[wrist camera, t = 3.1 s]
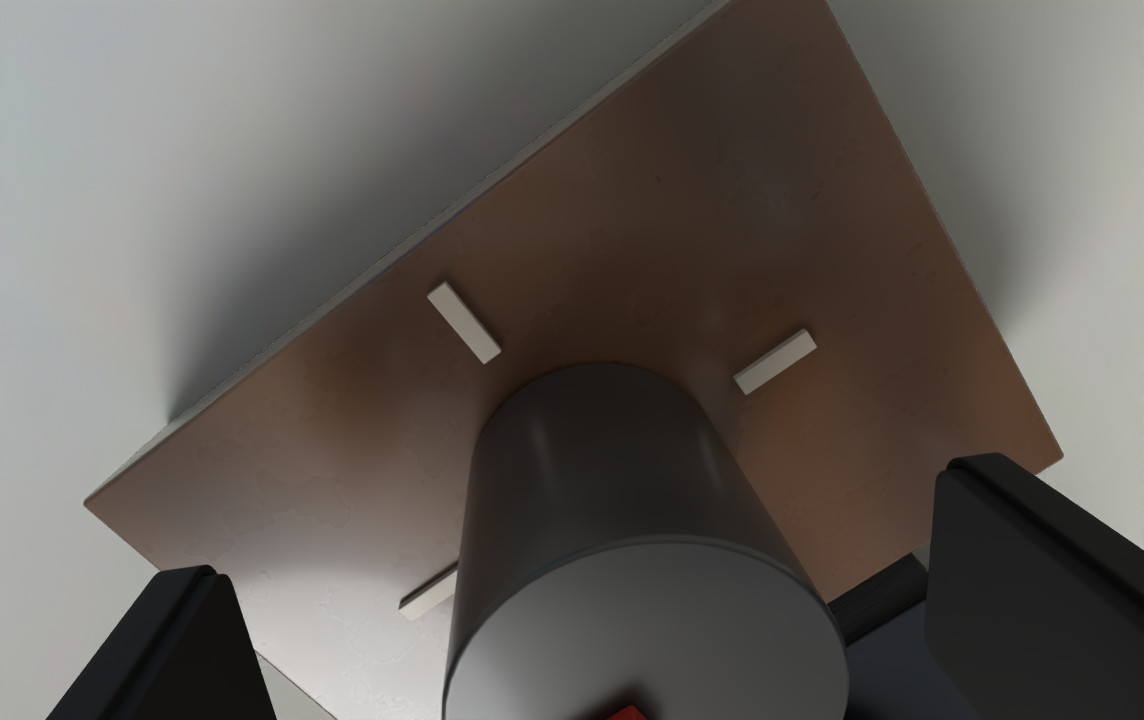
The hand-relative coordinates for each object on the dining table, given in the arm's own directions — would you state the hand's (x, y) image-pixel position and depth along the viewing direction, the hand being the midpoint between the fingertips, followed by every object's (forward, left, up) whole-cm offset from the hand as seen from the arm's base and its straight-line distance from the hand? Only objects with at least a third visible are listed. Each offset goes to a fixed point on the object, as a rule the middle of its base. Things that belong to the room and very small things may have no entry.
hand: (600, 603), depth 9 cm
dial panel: (0, 0, -6) cm, 6 cm away
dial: (0, 0, -3) cm, 3 cm away
